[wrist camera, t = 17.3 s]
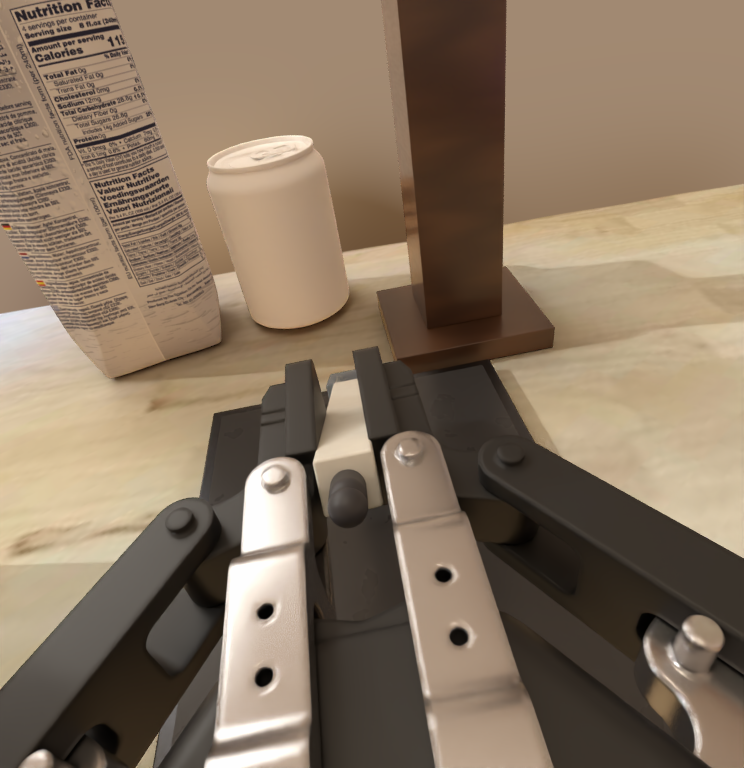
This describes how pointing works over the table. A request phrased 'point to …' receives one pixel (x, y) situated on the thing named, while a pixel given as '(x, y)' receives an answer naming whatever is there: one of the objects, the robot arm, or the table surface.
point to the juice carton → (97, 190)
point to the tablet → (378, 547)
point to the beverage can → (280, 229)
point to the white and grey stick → (346, 456)
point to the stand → (453, 188)
